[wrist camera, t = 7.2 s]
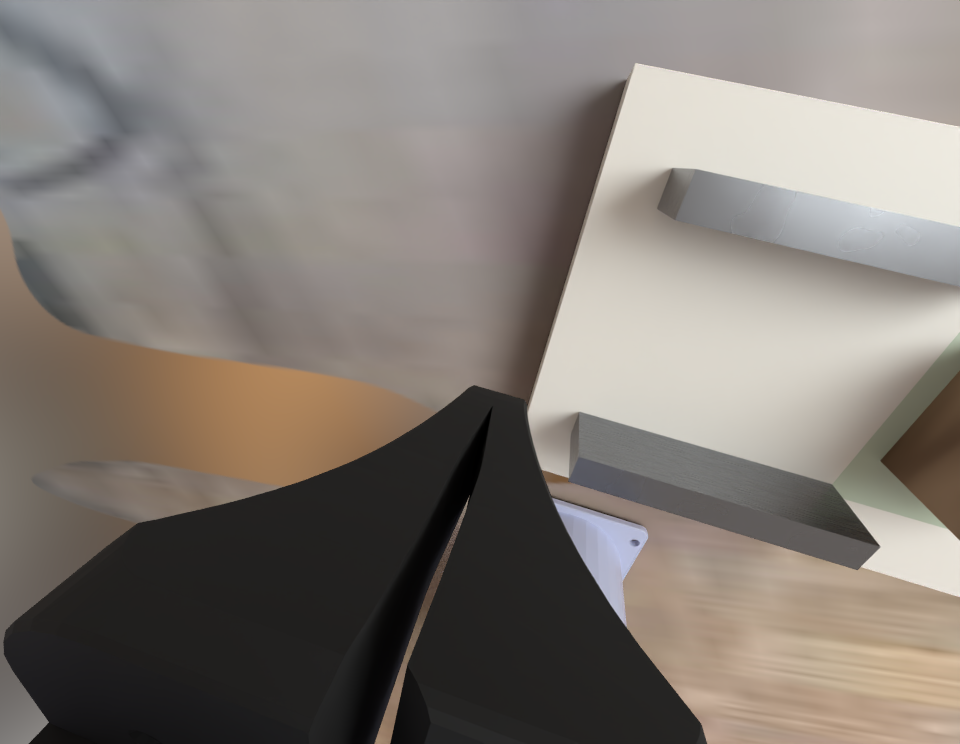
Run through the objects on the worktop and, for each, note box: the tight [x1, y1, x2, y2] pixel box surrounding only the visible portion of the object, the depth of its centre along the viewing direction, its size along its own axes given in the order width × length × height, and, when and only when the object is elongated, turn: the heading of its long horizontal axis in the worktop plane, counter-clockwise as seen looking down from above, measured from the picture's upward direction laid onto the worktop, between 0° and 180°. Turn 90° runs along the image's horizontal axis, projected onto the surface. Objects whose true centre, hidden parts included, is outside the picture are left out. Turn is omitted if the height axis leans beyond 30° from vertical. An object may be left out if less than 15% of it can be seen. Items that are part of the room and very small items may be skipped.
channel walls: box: [569, 168, 960, 570], centre depth 13 cm, size 10×10×3 cm
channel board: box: [527, 63, 960, 597], centre depth 15 cm, size 15×26×2 cm, turn 79°
